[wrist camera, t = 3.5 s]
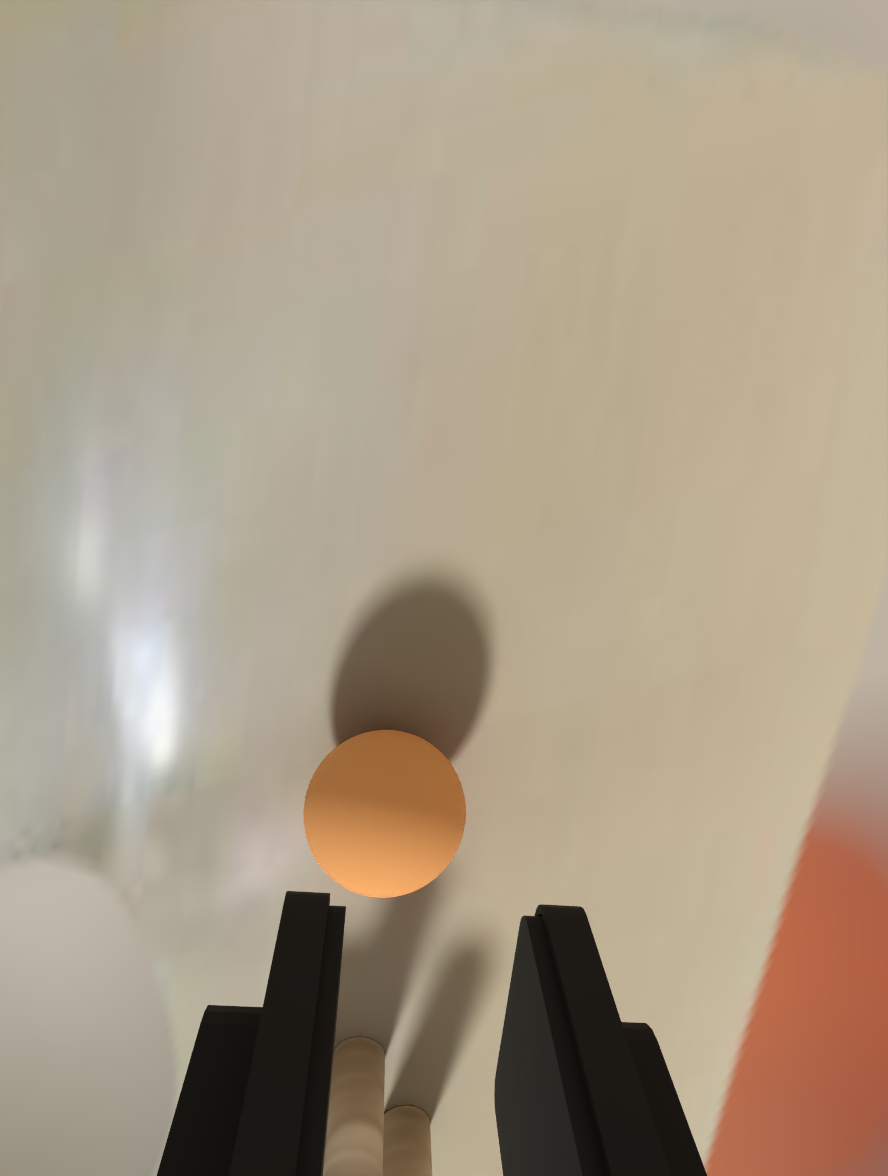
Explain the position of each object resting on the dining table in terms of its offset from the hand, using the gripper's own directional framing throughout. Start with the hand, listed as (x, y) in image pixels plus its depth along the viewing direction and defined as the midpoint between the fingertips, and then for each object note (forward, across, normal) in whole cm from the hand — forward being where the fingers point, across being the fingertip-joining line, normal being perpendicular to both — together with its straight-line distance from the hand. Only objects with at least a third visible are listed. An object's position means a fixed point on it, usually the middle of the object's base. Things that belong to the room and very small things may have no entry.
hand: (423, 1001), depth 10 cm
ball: (+18, 0, +9) cm, 20 cm away
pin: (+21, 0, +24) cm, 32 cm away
